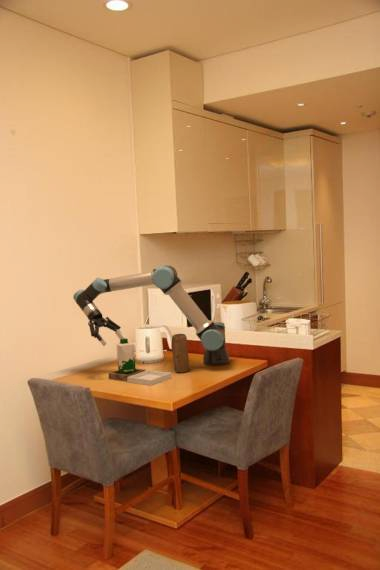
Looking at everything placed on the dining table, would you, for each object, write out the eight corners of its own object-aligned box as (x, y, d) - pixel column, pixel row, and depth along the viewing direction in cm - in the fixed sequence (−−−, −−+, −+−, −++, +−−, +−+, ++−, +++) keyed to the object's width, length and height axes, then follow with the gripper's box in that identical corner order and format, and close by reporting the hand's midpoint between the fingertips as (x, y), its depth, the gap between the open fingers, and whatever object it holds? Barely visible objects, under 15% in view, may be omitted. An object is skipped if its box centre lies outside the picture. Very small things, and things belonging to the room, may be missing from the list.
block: (190, 372, 290) (187, 335, 288) (176, 374, 288) (174, 336, 286) (185, 368, 300) (183, 332, 299) (172, 369, 298) (169, 333, 297)
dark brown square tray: (146, 375, 289) (145, 369, 289) (128, 381, 278) (127, 375, 278) (127, 372, 298) (126, 367, 297) (108, 378, 286) (108, 373, 286)
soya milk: (133, 374, 294) (130, 337, 292) (137, 377, 285) (135, 340, 284) (117, 376, 290) (114, 339, 289) (121, 380, 282) (119, 342, 281)
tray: (171, 377, 280) (171, 372, 280) (151, 385, 267) (150, 380, 267) (148, 374, 290) (147, 370, 290) (127, 382, 277) (127, 377, 277)
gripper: (106, 314, 310) (127, 342, 302) (72, 321, 290) (94, 351, 282) (112, 305, 306) (133, 333, 299) (78, 312, 286) (100, 341, 279)
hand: (114, 342), depth 290 cm, fingers open, 13 cm apart
